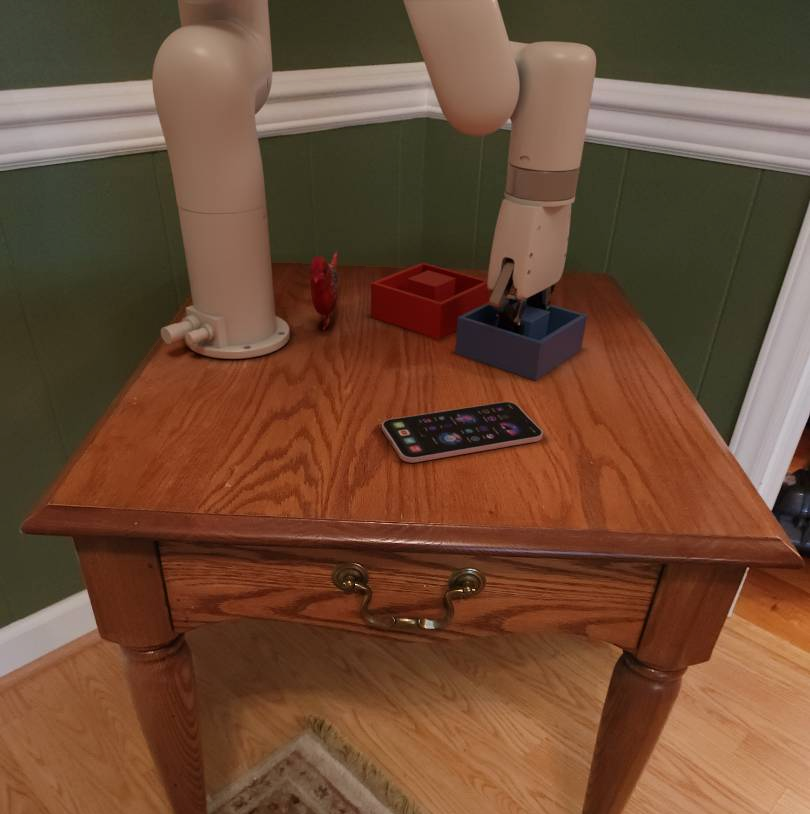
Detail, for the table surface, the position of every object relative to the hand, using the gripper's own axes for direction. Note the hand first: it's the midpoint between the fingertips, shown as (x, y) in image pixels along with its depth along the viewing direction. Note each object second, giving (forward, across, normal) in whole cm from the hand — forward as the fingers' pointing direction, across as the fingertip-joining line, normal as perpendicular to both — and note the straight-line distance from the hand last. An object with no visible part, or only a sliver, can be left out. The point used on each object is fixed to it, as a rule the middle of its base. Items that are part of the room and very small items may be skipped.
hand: (519, 345), depth 88 cm
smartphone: (+1, +21, +6) cm, 22 cm away
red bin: (+1, -2, -15) cm, 15 cm away
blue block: (0, 0, 0) cm, 0 cm away
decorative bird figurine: (+1, +8, -24) cm, 25 cm away
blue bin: (+1, 0, 0) cm, 1 cm away
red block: (0, -2, -15) cm, 15 cm away
